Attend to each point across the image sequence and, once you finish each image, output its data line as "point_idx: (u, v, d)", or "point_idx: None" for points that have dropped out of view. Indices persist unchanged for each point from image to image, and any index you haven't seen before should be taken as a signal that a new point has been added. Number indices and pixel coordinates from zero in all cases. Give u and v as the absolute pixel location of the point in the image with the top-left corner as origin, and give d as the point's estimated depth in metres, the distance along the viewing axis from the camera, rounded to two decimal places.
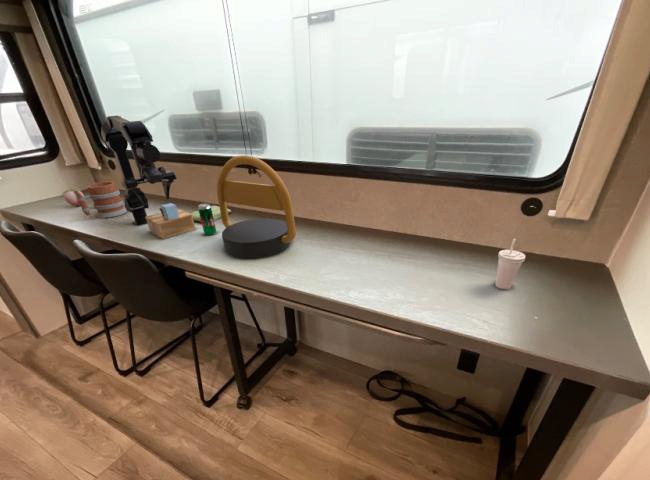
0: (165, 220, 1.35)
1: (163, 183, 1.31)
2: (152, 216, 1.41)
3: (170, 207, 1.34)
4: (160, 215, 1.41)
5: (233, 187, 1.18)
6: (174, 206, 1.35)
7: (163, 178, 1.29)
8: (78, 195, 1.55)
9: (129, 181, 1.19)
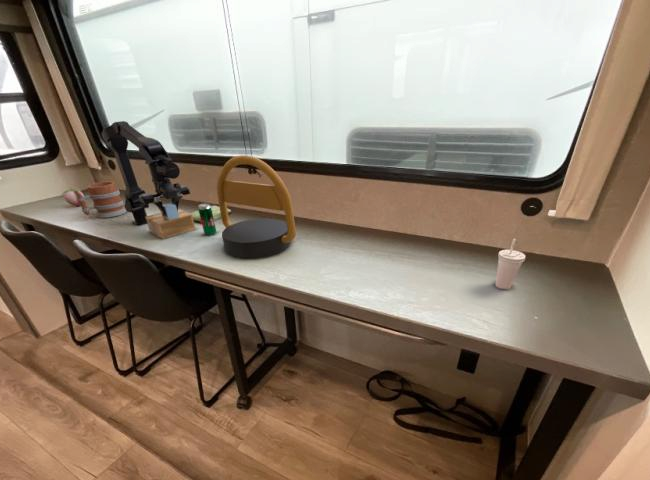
0: (165, 220, 1.35)
1: (172, 199, 1.37)
2: (152, 216, 1.41)
3: (170, 207, 1.34)
4: (160, 215, 1.41)
5: (233, 187, 1.18)
6: (174, 206, 1.35)
7: None
8: (78, 195, 1.55)
9: (147, 197, 1.26)
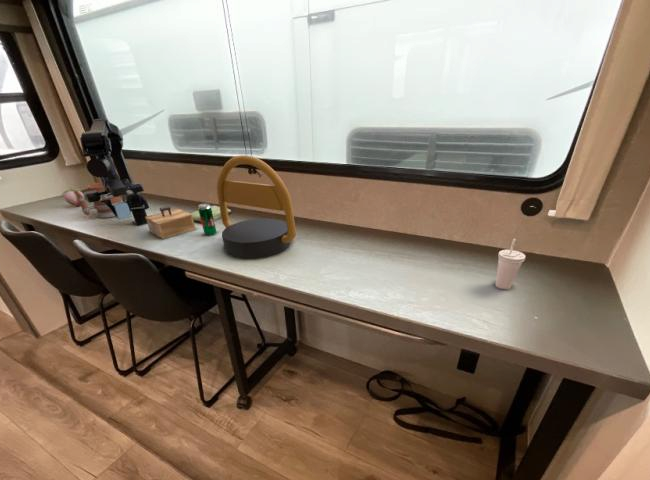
0: (165, 220, 1.35)
1: (124, 196, 1.24)
2: (152, 216, 1.41)
3: (120, 206, 1.22)
4: (160, 215, 1.41)
5: (233, 187, 1.18)
6: (125, 205, 1.23)
7: None
8: (78, 195, 1.55)
9: (91, 194, 1.14)
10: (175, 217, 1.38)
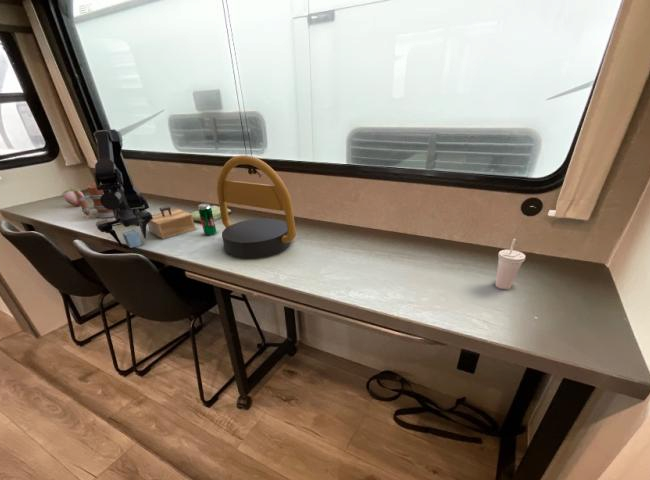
0: (165, 220, 1.35)
1: (139, 223, 1.31)
2: (152, 216, 1.41)
3: (131, 235, 1.28)
4: (160, 215, 1.41)
5: (233, 187, 1.18)
6: (136, 234, 1.29)
7: (139, 218, 1.29)
8: (78, 195, 1.55)
9: (103, 225, 1.20)
10: (175, 217, 1.38)
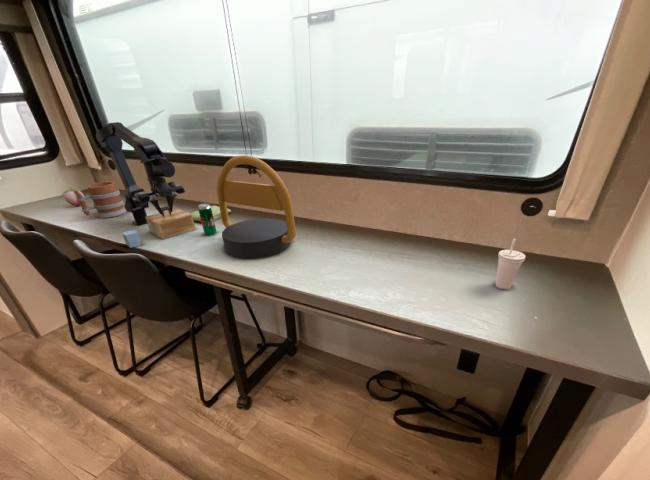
0: (165, 220, 1.35)
1: (167, 197, 1.40)
2: (152, 216, 1.41)
3: (131, 235, 1.28)
4: (160, 215, 1.41)
5: (233, 187, 1.18)
6: (136, 234, 1.29)
7: None
8: (78, 195, 1.55)
9: (142, 195, 1.30)
10: (175, 217, 1.38)
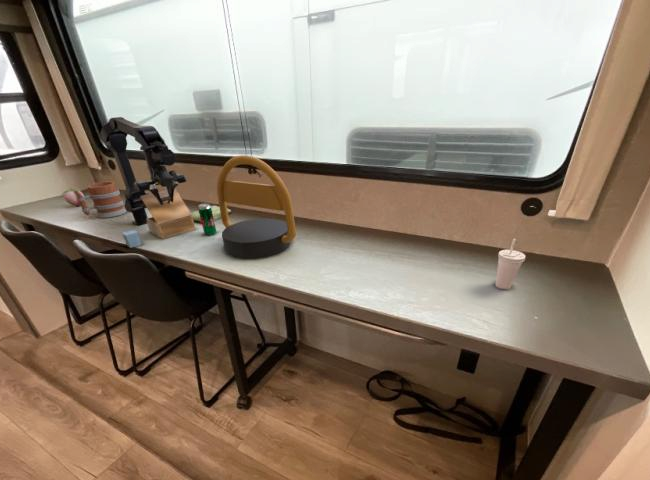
0: (165, 218, 1.34)
1: (167, 186, 1.35)
2: (149, 199, 1.35)
3: (131, 235, 1.28)
4: None
5: (233, 187, 1.18)
6: (136, 234, 1.29)
7: None
8: (78, 195, 1.55)
9: (142, 184, 1.24)
10: (175, 214, 1.37)
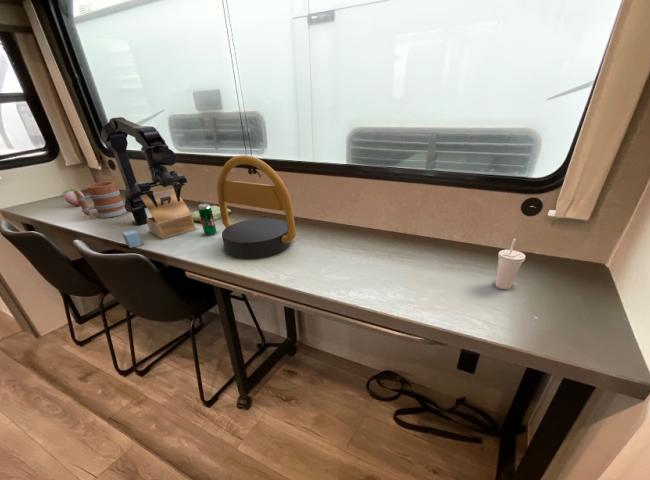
0: (165, 218, 1.34)
1: (174, 186, 1.36)
2: (149, 199, 1.35)
3: (131, 235, 1.28)
4: (158, 200, 1.36)
5: (233, 187, 1.18)
6: (136, 234, 1.29)
7: (174, 181, 1.34)
8: (78, 195, 1.55)
9: (143, 184, 1.24)
10: (175, 214, 1.37)
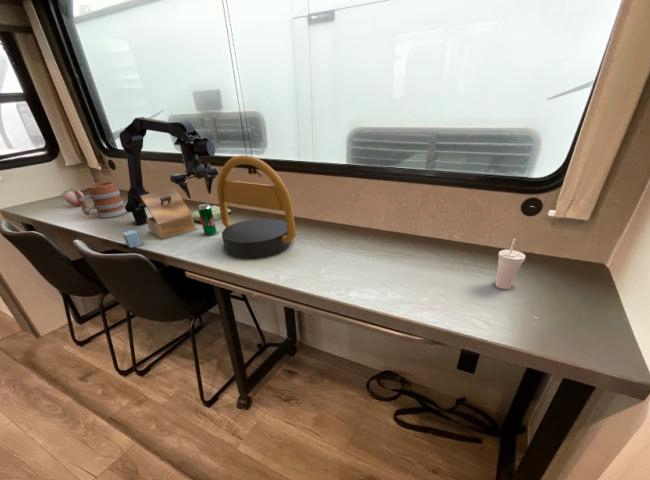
0: (165, 218, 1.34)
1: (206, 178, 1.41)
2: (149, 199, 1.35)
3: (131, 235, 1.28)
4: (158, 200, 1.36)
5: (233, 187, 1.18)
6: (136, 234, 1.29)
7: None
8: (78, 195, 1.55)
9: (178, 176, 1.29)
10: (175, 214, 1.37)
